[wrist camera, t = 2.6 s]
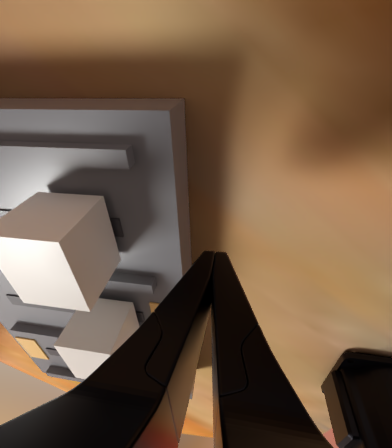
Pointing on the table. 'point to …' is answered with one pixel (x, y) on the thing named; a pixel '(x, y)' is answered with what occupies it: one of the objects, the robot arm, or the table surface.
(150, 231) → the switch bank
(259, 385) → the robot arm
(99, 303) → the tab
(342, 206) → the table surface
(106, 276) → the tab
